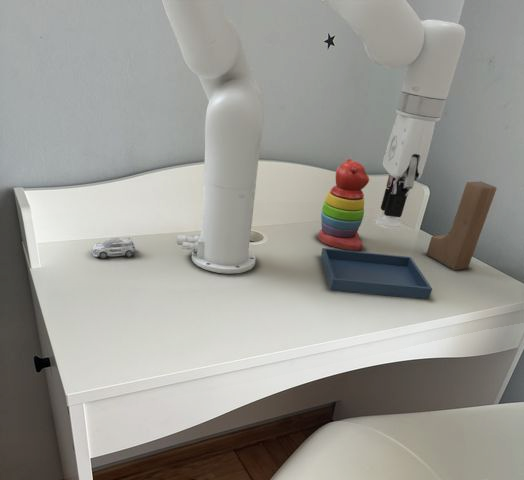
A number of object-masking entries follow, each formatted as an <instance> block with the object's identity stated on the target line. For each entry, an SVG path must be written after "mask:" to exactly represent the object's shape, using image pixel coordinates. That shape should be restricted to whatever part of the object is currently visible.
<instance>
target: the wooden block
mask: <svg viewBox="0 0 524 480" xmlns="http://www.w3.org/2000/svg"><path fill="white" fill-rule="evenodd" d="M496 192H497V187H496V186H494V185H492V184H489V183H486V182H483V181H467V182H466V183H465V186H464V188H463V192H462V195H461V199H460V202H459V204H458V207H457V211H456V214H455V217H454V219H453V222H452V226H451V228H450V230H449V232H448V233H447V234H441V235H433V236H431V238H430V240H429V243H428V248H427V250H426V256H429V257H430V258H432V259H434V260H436V261H437V262H439V263H441V264H443V265H445V266H446V267H448V268H450V269H452V270H453V271H458V270H465V269H468V268H469V266H470V264H471V261H472V258H473V255H474V252H475V250H476V247H477V244H478V241H479V239H480V236H481V233H482V231H483V227H484V225H485V222H486V220H487V217H488V214H489V211H490V208H491V206H492V203H493V200H494V197H495V195H496Z"/></svg>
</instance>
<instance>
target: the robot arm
mask: <svg viewBox="0 0 524 480" xmlns="http://www.w3.org/2000/svg"><path fill="white" fill-rule="evenodd" d="M320 1H321V2H323V3H324V4H326V5H327V6H328V7H330V8H331V9H332V10H333V11H335V12H336V14H338V16H340V17H341V18H342V19H343V20H344V22H346V23H347V24H348V26H349V27H350V28H351V29H352V30H353V31H354V32H355V33H356V35H357V36H358V37H359V38H360V39H361V41H362V42H363V48H364V51H365V53H366V55H367V57H368V58H369V59H370V60H371V61H372V62H374V63H375V64H376V65H378V66H382V67H384V68H387V69H389V70H401V69H404V68H406V67H407V68H406V71H405V75H404V79H403V83H402V87H401V91H400V94H399V95H400V96H399V98H398V102H397V106H396V110H395V113H396V114H397V116H396V118H395V121H394V123H393V127H392V129H391V133H390V136H389V139H388V143H387V146H386V149H385V153H384V156H383V159H382V166H383V168H384V169H385V171H386V172H387V173H388V178H387V182H386V187H385V190H384V193H383V197H382V201H381V204H380V210H381V211H383V215H384V214H385V215H386V216H393V217H396V218H401V217H402V215H403V212H404V208H405V204H406V201H407V198H408V196H409V193H410V190H412V189H414V185H415V182H417V181H419V180H420V179H421V177H422V175H423V172H424V168H425V166H426V163H427V158H428V157H429V152H430V146H431V144H432V139H433V135H434V131H435V125H436V122H440V121H441V119H442V115H443V111H444V108H445V105H446V102H447V98H448V96H449V93H450V89H451V85H452V83H453V79H454V76H455V72H456V69H457V66H458V63H459V59H460V56H461V53H462V49H463V47H464V42H465V39H466V29H465V27H464V25H462V24H459V23H456V22H452V21H447V20H446V21H445V20H438V19H425V20H422V19H420V17H419V15H418V14H417V13H416V11H415V10H414V8H413V7H412V5H410V4H409V2H408V1H407V0H320ZM161 3H162V6H163V9H164V11H165V13H166V16H167V19H168V21H169V25H170V26H171V30H172V31H173V34H174V36H175V39H176V42H177V44H178V47H179V49H180V53H181V55H182V59H183V61H184V62H185V64H186V66H187V67H188V69H190V71H191V72H192V73H194V74H195V75H196V76H197V77H198V79H199V82H200V84H201V86H202V89H203V92H204V94H205V97H206V98H207V101H208V104H207V108H206V112H205V120H204V121H205V122H204V163H203V164H204V166H203V186H202V187H203V189H202V205H201V206H202V207H201V225H200V231H199V234H198V235H194V236H188V235H181V234H178V235H177V239H176V240H177V241H176V244H177V246H181V249H182V250H185V251H186V250H187V251H188V250H190V251H192V252H191V260H192V262H193V264H195V265H196V266H197V267H199V268H201V269H203V270H205V271H209V272H213V273H218V274H227V275H228V274H229V275H230V274H232V275H233V274H241V273H245V272H248V271H250V270H252V269H253V268H254V267H255V265H256V256H255V254H254V253H253V252H252V251H250V242H251V234H252V233H251V232H252V225H253V216H254V206H255V198H256V197H255V196H256V189H257V188H256V187H257V176H258V169H259V168H258V167H259V159H260V151H261V142H262V137H263V129H264V119H265V107H264V106H265V105H264V100H263V99H264V98H263V97H262V96H263V95H262V93H261V90H260V87H259V86H258V85H259V84H258V82H257V79H256V76H255V74H254V70H253V68H252V65H251V63H250V60H249V56H248V54H247V51H246V49H245V45H244V43H243V40H242V37H241V35H240V32H239V30H238V28H237V26H236V24H235V23H234V22H233V20H232V19H231V18H230V17H229V16H228V15H227V13H226V10H225V9H224V6H223V3H222V0H161ZM402 175H406V177H401V176H402ZM394 181H395V182H394ZM399 181H402V182H401V183H400V184H399Z"/></svg>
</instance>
